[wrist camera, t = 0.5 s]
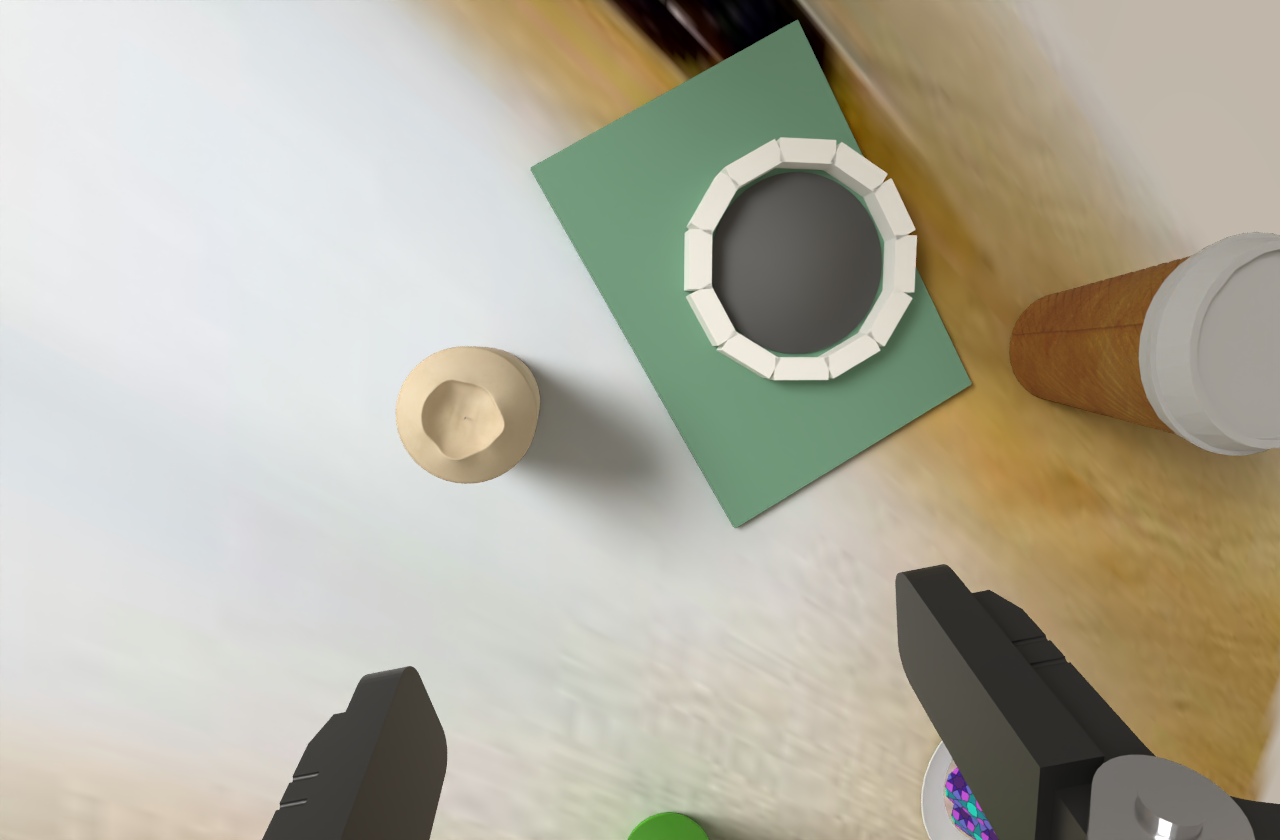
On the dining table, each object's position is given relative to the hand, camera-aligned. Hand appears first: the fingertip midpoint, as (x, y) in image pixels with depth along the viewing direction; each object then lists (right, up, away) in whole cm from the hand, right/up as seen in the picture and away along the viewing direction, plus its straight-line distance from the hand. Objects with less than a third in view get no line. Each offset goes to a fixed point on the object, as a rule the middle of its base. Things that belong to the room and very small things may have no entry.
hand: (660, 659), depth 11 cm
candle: (-8, +5, +24) cm, 26 cm away
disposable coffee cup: (+24, +8, +28) cm, 38 cm away
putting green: (+6, +11, +25) cm, 28 cm away
